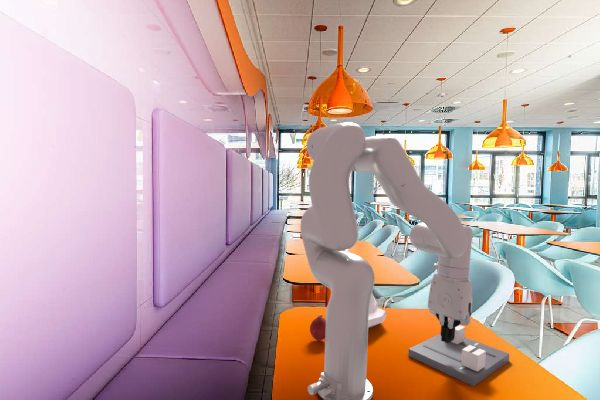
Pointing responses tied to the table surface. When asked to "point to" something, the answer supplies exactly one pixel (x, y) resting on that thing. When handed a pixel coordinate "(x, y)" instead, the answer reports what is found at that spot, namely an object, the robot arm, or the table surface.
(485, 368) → the console
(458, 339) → the fader
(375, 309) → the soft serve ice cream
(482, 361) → the fader
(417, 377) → the table surface
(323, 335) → the onion
